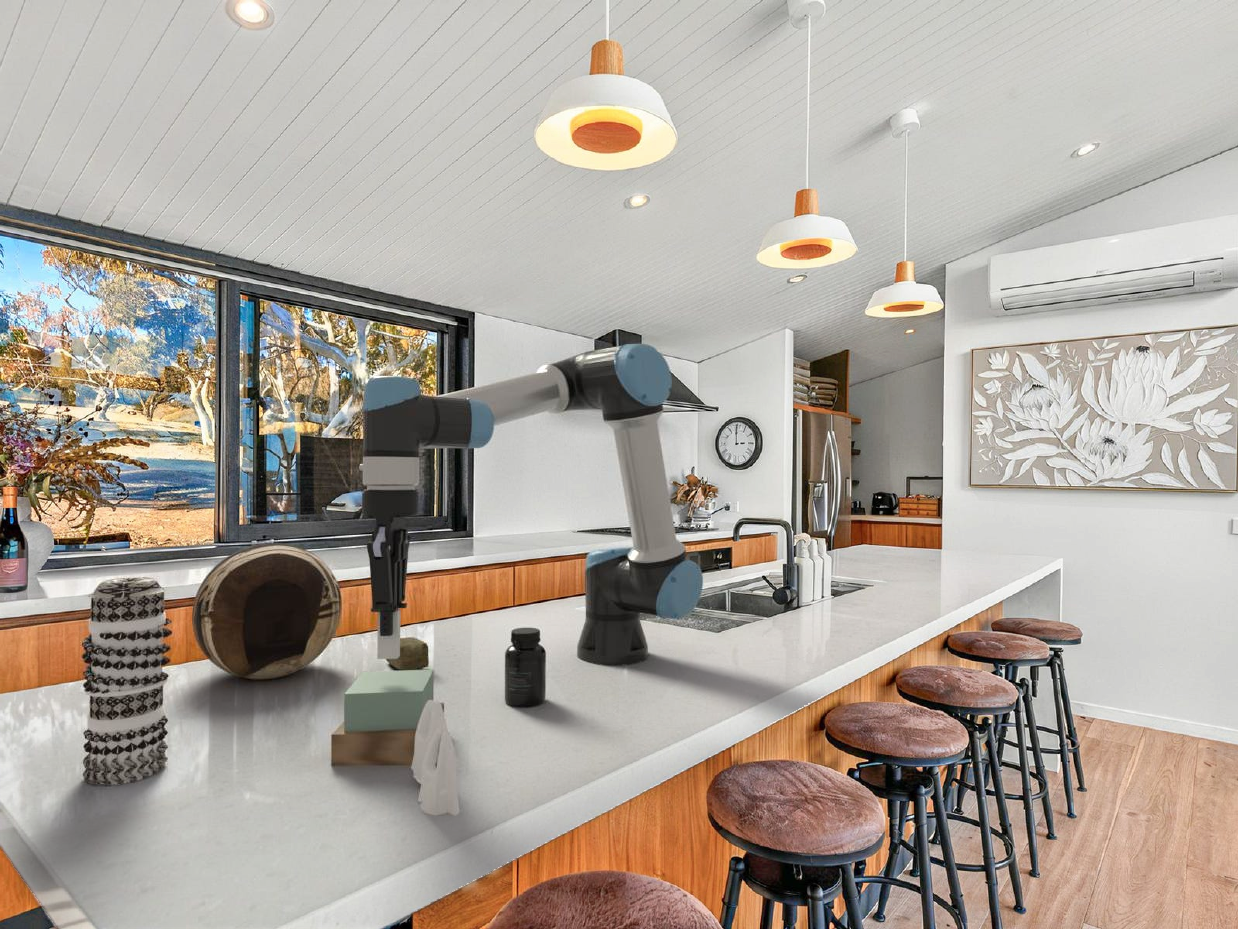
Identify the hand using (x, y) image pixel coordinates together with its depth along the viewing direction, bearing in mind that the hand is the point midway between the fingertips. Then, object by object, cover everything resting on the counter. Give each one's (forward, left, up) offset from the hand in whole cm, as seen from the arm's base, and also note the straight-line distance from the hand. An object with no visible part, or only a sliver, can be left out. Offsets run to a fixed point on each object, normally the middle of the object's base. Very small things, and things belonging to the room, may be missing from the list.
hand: (388, 657), depth 96 cm
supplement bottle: (-17, -20, -13) cm, 29 cm away
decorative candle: (+30, +8, -13) cm, 34 cm away
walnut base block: (-1, 0, -13) cm, 13 cm away
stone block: (+6, -37, -14) cm, 40 cm away
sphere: (+32, -35, -13) cm, 49 cm away
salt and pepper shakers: (-10, +15, -13) cm, 22 cm away
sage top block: (-1, 0, -8) cm, 8 cm away
